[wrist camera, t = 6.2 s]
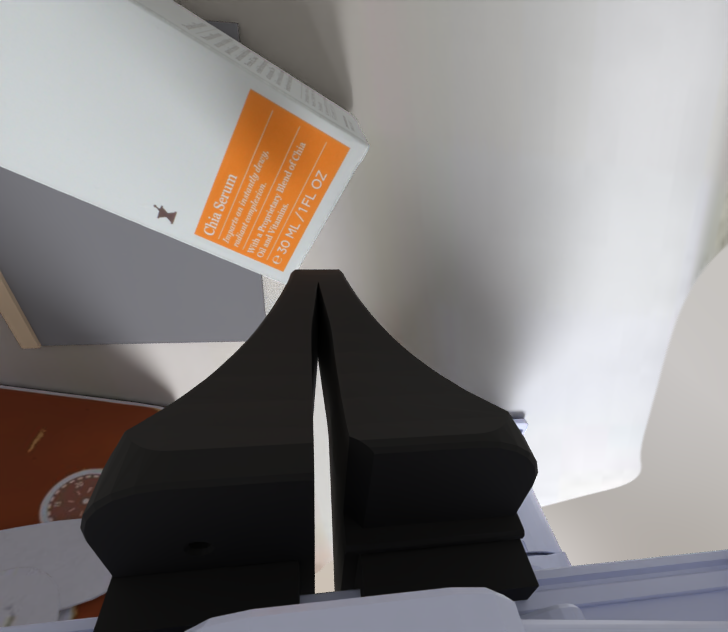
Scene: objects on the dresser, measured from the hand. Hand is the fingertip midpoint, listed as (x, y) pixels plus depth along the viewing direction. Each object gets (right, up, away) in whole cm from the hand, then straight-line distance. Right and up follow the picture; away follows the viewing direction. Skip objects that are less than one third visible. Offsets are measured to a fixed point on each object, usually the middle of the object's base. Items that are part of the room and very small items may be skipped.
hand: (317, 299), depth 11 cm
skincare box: (0, +4, +4) cm, 6 cm away
